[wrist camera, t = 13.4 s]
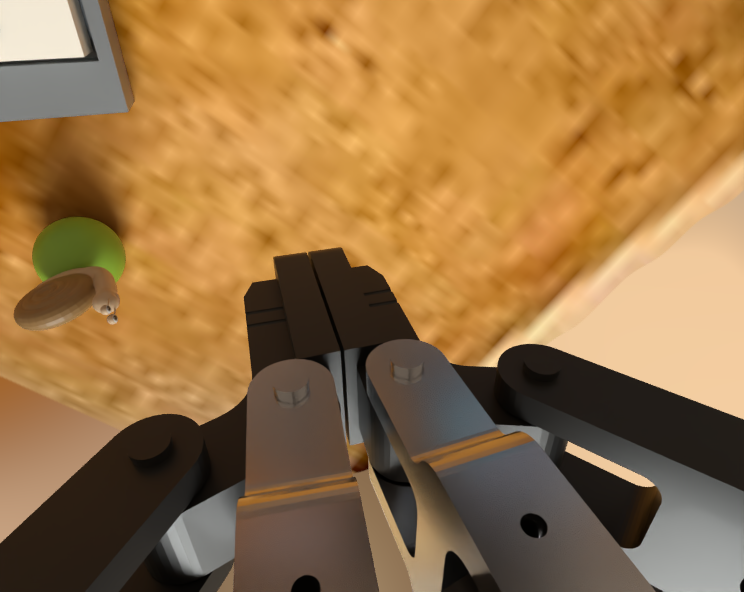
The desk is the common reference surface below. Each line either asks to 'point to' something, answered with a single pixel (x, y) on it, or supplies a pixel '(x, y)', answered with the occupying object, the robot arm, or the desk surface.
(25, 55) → the tile two dots
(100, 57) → the socket board
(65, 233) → the snail figurine
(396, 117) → the desk surface
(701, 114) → the desk surface
